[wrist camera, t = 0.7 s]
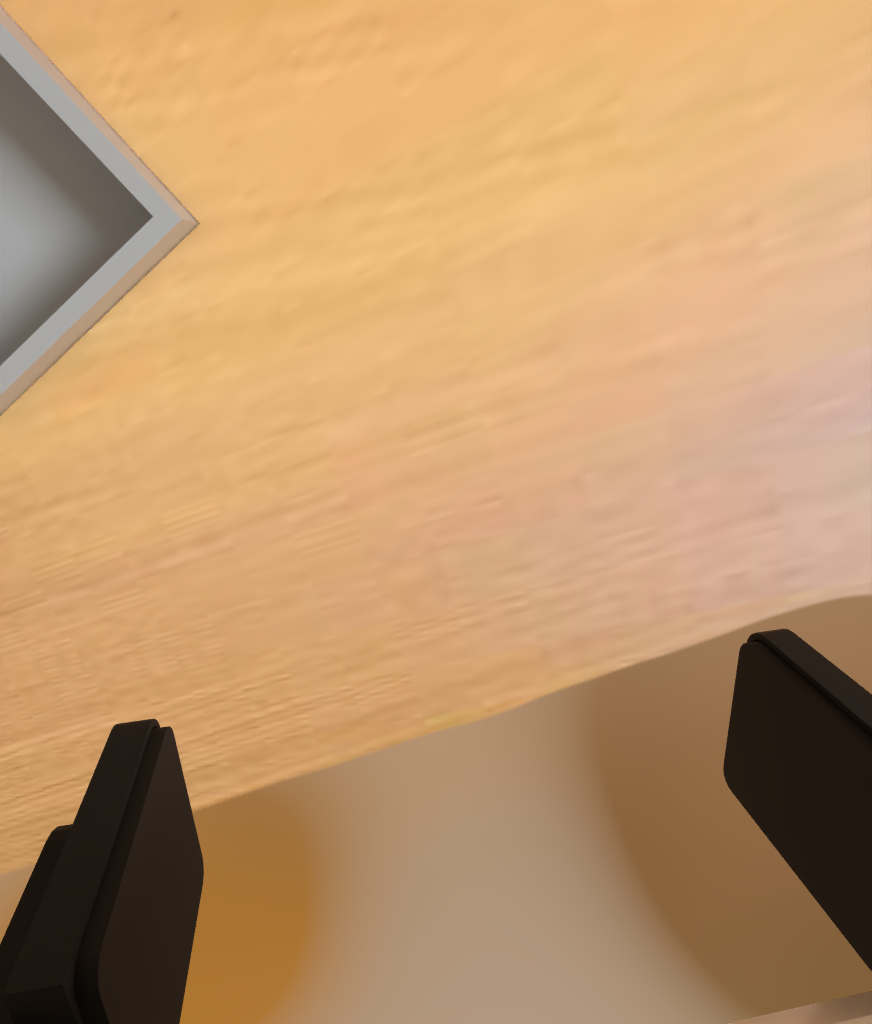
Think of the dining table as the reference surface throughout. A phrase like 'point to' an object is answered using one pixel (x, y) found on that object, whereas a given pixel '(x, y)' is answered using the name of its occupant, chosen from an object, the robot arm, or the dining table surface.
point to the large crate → (66, 214)
